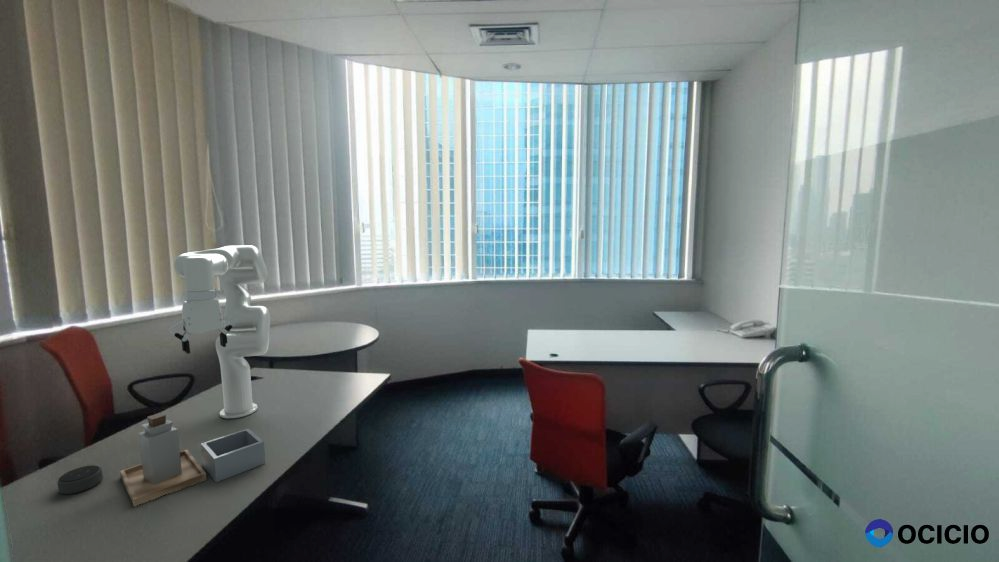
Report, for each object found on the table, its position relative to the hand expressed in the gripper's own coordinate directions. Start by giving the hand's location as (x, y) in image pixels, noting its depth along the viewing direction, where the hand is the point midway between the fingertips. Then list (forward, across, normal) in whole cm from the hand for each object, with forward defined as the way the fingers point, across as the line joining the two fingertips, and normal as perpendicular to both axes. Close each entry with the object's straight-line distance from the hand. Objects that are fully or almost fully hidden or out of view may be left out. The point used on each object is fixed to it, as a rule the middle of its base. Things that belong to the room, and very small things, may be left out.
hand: (205, 349), depth 136 cm
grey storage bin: (+33, -1, +15) cm, 37 cm away
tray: (+33, +15, +8) cm, 37 cm away
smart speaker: (+34, +31, -5) cm, 46 cm away
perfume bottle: (+33, +15, +8) cm, 37 cm away
